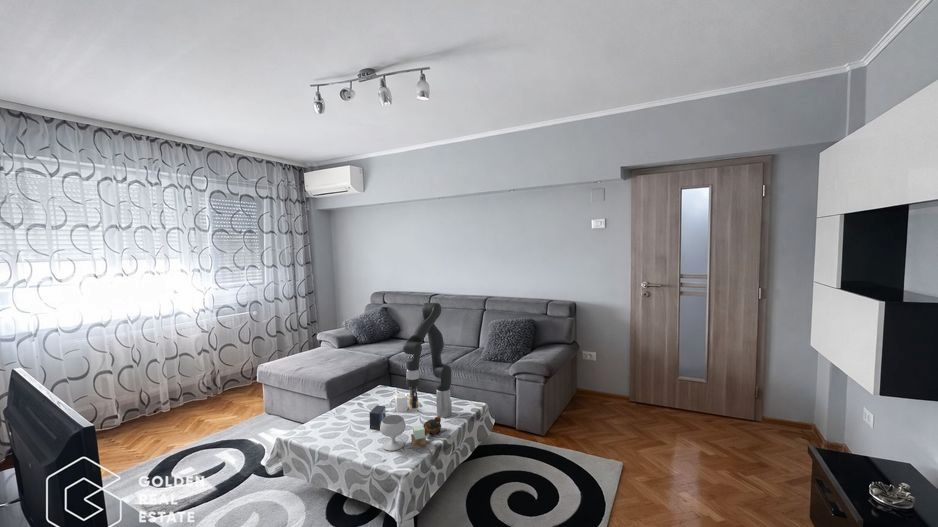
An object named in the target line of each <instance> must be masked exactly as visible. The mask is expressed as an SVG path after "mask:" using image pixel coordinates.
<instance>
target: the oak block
mask: <svg viewBox="0 0 938 527" xmlns="http://www.w3.org/2000/svg"><path fill="white" fill-rule="evenodd" d="M414 400H415V399H414ZM408 409H409V410H416V409H419V397H418V395H417V402H416V408H412V398H411V396H410V395H408Z"/></svg>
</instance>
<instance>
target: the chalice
mask: <svg viewBox="0 0 938 527" xmlns="http://www.w3.org/2000/svg"><path fill="white" fill-rule="evenodd" d="M379 430H380V432H381V434H382V435H383V436H385V437H388V438H390V439H388V440H386V441H385V442H384V443H383V444H382V448H383V450H385V451H390V452H394V451H398V450H400V449H402V448H403V447H404V446H405V444H406V443H405V441H404V440H402V439H400V438H396V437H398V436H400V435H402V434H403V433H404V432H405V430H406V420H405V418H404V416H402V415H400V414H390V415H386V417H385V418H383V420H382V422H381V425H380V429H379Z"/></svg>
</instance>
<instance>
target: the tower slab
mask: <svg viewBox="0 0 938 527" xmlns="http://www.w3.org/2000/svg"><path fill="white" fill-rule="evenodd" d="M410 438H411V445H412V449H413V450H415V449H420V448H425V447H427V438H426V436H425V438H422V439H417V440H415V438H414V435H413V433H412V434H410Z"/></svg>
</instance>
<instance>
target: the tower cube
mask: <svg viewBox="0 0 938 527" xmlns="http://www.w3.org/2000/svg"><path fill="white" fill-rule="evenodd" d="M423 425H424V424H419V425H414V426H412V427H413V428H412V434H413V435H414V438H415V440H417V439H422V438H425V437H426V436H425V429H424V427H423Z"/></svg>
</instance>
